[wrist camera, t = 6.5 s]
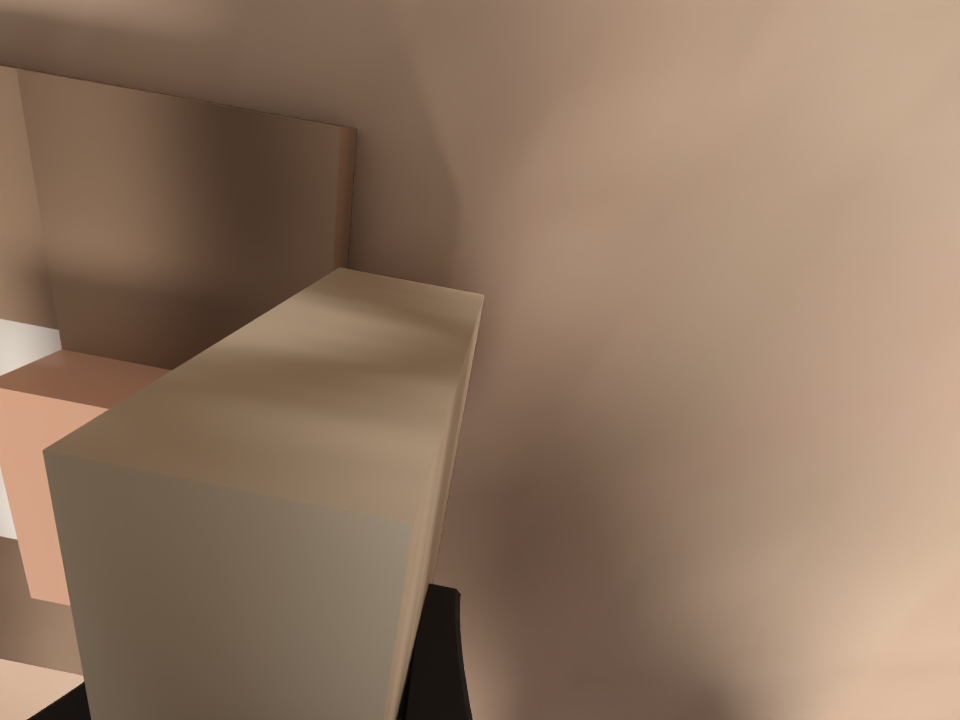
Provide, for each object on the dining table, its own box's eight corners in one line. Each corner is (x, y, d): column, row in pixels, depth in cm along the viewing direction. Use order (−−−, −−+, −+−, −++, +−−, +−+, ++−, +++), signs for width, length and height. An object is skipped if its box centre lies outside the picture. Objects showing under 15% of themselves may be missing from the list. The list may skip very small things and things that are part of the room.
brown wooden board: (356, 129, 11) (340, 127, 10) (319, 691, 18) (308, 721, 17) (-320, 6, 11) (-396, -6, 10) (-99, 607, 18) (-132, 631, 17)
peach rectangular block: (305, 396, 12) (265, 438, 11) (298, 582, 15) (264, 645, 13) (61, 349, 13) (-20, 384, 11) (92, 541, 15) (31, 597, 13)
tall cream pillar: (484, 294, 11) (413, 523, 4) (413, 690, 15) (327, 1092, 9) (339, 267, 11) (41, 450, 4) (313, 669, 15) (152, 1054, 9)
